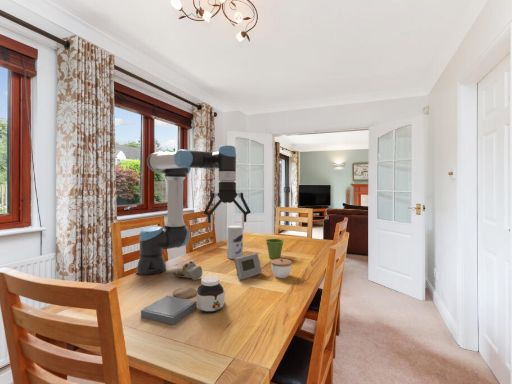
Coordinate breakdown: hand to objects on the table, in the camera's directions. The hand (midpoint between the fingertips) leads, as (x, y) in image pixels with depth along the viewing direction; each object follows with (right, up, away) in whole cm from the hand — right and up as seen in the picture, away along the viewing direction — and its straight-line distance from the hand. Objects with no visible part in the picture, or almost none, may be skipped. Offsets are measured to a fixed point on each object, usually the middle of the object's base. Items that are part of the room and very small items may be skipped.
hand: (227, 230), depth 120 cm
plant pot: (+25, -26, +57) cm, 67 cm away
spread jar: (-5, -28, -13) cm, 32 cm away
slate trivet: (-19, -28, -18) cm, 39 cm away
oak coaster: (-18, -28, -2) cm, 33 cm away
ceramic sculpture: (-21, -27, +19) cm, 39 cm away
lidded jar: (+26, -27, +22) cm, 43 cm away
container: (-1, -26, +57) cm, 63 cm away
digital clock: (+9, -27, +22) cm, 36 cm away
